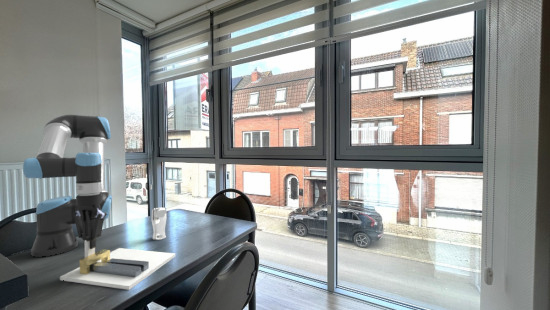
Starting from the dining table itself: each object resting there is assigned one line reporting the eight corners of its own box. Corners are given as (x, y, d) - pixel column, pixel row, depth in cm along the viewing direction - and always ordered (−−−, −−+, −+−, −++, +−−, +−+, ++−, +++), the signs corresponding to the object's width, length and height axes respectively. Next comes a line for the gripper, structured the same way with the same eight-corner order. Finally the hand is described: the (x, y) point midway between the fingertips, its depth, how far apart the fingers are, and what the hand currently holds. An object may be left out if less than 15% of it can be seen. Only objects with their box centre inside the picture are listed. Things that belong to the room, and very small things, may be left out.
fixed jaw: (78, 270, 84) (78, 263, 84) (85, 266, 86) (85, 260, 86) (135, 277, 79) (135, 270, 79) (141, 273, 82) (141, 266, 82)
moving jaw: (106, 267, 85) (106, 261, 85) (112, 264, 88) (112, 258, 88) (143, 271, 83) (143, 264, 83) (148, 267, 85) (148, 261, 85)
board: (60, 280, 80) (59, 276, 79) (119, 250, 103) (119, 248, 103) (129, 289, 74) (129, 286, 74) (175, 256, 98) (175, 253, 98)
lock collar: (79, 273, 81) (79, 260, 81) (103, 261, 90) (103, 249, 90) (86, 274, 81) (86, 260, 81) (110, 261, 90) (109, 249, 90)
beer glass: (163, 234, 123) (162, 206, 123) (169, 237, 119) (169, 208, 119) (149, 238, 118) (149, 209, 118) (155, 241, 113) (155, 211, 113)
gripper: (64, 195, 83) (65, 259, 83) (93, 196, 80) (94, 263, 81) (85, 191, 90) (85, 251, 91) (112, 192, 88) (113, 254, 88)
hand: (89, 256), depth 86 cm, fingers closed
